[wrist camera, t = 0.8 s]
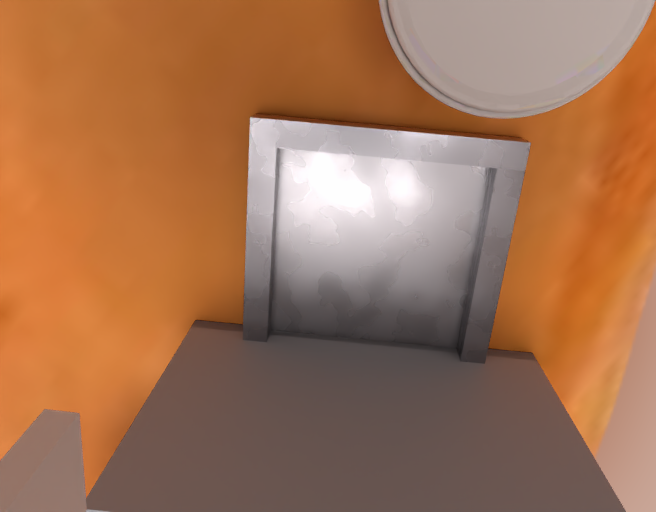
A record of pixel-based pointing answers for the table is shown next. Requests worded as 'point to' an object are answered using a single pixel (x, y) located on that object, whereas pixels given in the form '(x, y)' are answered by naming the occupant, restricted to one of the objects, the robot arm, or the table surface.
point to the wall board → (348, 432)
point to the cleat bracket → (378, 231)
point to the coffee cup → (511, 49)
